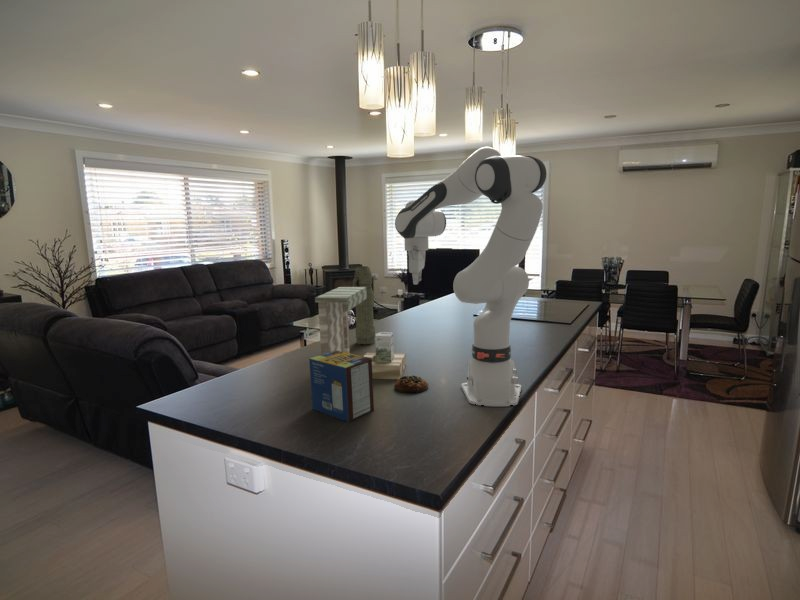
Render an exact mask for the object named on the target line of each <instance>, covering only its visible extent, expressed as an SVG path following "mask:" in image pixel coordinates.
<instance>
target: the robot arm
mask: <svg viewBox="0 0 800 600" xmlns="http://www.w3.org/2000/svg"><path fill="white" fill-rule="evenodd" d="M546 179H547V168H546V165H545V163H544V162H543V161H542V160H541V159H539V158H537V157H534V156H530V155H515V154H506V155H505V154H504V155H501V153H500V152H499V151H498V150H497V149H495V148H494V147H491V146H482V147H479V148H478V149H477V150H475V151H474V152H473V153H472V154H471V155H469V156H468V157H467V158H466V159H465V160H464V161H463V162H462V163H461V164H460V165H458V167H457V168H456V169H455V170H454V171H453V172H452V173H450V174H449V175H448V176H446V177H445V178H444V179H442V180H440V181H439V182H437V183H436V184H434V185H433V186H431V187H430V188H429V189H428V190H425V192H424V193H422V195H421V196H420V197H418V198H417V199H416V200H410V201H409V202H407V203H406V204H405V206H404V208H402V209H401V210H399V212H398V213H397V215H396V217H395V220H394V221H395V222H394V227H395V229H396V231H397V232H398V234H399V235H400V236H401V237H402V238H404V251H407V253H408V254H407V255H408V272H409V274H411V276H412V283H413V285H419V282H421V281H422V273H423V271H422V270H424V268H425V265H426V264H425V263H426V251H429V238H430V237H438V236H441V235H442V234H443V233H444V232H445V229H446V227H447V218H446V215H445V213H444V212H443V211H442V210H441V208H444V207H450V206H451V207H452V206H458V205H467V204H470V203H472V202H474V201H476V200H477V199H479V198H480V197H481V196H482V195H484V196H485V197H486V198H488V199H489V200H490V203H493V204H494V205H496V204H498V205H499V204H500V205H501V210H500V214H499V216H498V219H497V221H496V223H495V226H494V228H493V230H492V232H491V235H490V237H489V240H488V242H487V244H486V246H485V247H484V249H483V250H482V251H481V252H480V254H479V255H478V257H476V258H475V259H474V261H473V262H471V264H469V265H468V266H467V267H465V268H463V270H460V271H459V272H458V273H456V275H455V277H454V280H453V283H452V284H453V285H452V287H453V292H454V295H455V296H456V298H457V299H458V301H459V302H461V303H465V304H473V305H474V304H475V305H478V304H485V306H484V308H483V309H482V312H480V313H479V314H478V315H477V316H476V317H475V318H474V321H473V343H472V346H471V347H472V348H471V356H472V357H471V359H470V360H469V361H467V371H466V372H467V374H466V381H467V382H462V383H461V386H460V387H461V390H462V392H463V393H464V395H465V398H466V399H467V401H468V403H469V404H472V405H475V404H476V405H477V406H481V405H484V406H483V407H511V406H510V405H513V406H517V405H518V404H519V400H520V397H521V393H520V392H521V391H522V389H521V388H522V385H521V384H520V383H519V377H518V376H516V375H517V372H518V371H517V369H516V365H515V364H516V363H515V362H514V360H512V356H511V355H512V354H511V353H512V348H511V347H512V346H511V344H510V335H511V334H510V331H511V330H510V329H511V321H512V317H513V313H514V310H515V308H516V306H517V304H518V302H519V301H520V300H521V298H522V297H523V296H524V295H525V294H526V293H527V291H528V289H529V285H530V280H529V275H528V274H527V272H526V270H524V268H522V267H521V266H518V265H519V264H520V263H521V262H522V261H523V260H524V259H525V257H526V254H527V252H528V250H529V248H530V245H531V244H532V241H533V239H534V237H535V234H536V232H537V230H538V227H539V224H540V221H541V217H542V214H543V208H544V206H543V202H542V200H541V198H539V196H538V195H536V194H535V193H536V192H538V191H539V190H541V188H543V186H544V184H545V182H546ZM519 396H520V397H519Z"/></svg>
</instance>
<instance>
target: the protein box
mask: <svg viewBox="0 0 800 600" xmlns="http://www.w3.org/2000/svg"><path fill="white" fill-rule="evenodd" d="M308 361H309V373H310V375H309V376H310V392H311V408H312V410H313V409H314V411H316V410H317V411H316V412H319V411H320V412H319V413H322V414H324V413H325V414H324V415H327V414H328V416H330V415H331V417H333V418H335V417H336V419H338V418H339V420H341V419H342V421H344V420H345V422H348V423H349V422H351V421H353V420H356V419H358V418H361V417H362V416H364V415H366V414H368V413H371V412H372V411H374V410H375V404H374V384H373V383H374V382H373V377H372V358H369V357H364V355H358V354H353V353H351V352H350V353H345V352H340V351H336V350H335V351H332V352H329V353H325V354H322V355H321V354H320V355H319V354H318V355H316V356H311V357H309V360H308Z"/></svg>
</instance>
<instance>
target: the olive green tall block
mask: <svg viewBox="0 0 800 600" xmlns="http://www.w3.org/2000/svg"><path fill="white" fill-rule="evenodd" d="M354 271H355V272H354V277H353V280H352V287H367V299H365V300H364V301H362V302H361V303H359V304H358V305H356V306H355V307H354V308H355V321H356V323H355V324H356V327H355V329H354V330H355V339H356V340H355V341H356V344H357V345H358V344H371V345H373V344H372V343H374V342H375V335H376V327H375V325H374V324H375V322H374V321H375V320H374V305H375V301H374V300H375V286H374V285H375V283H374V282H375V281H374V280H375V279H374V277H373V275H372V271H371V267H369V266H365V265H364V266H362V265H361V266H357V267H355V270H354ZM374 344H375V343H374Z"/></svg>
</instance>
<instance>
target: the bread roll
mask: <svg viewBox="0 0 800 600" xmlns="http://www.w3.org/2000/svg"><path fill="white" fill-rule="evenodd" d="M396 380H397V381H396V382H394V386H393V388H394V390H396V391H397V392H399V393H402V394H409V395H412V394H417V393H418V394H419V393H421V392H424V391H425V390H427V389H428V388H429V385H430V384H429V383H428V382H427V380H425V378H422V377H421V376H416V375H407V376H406V375H404V376H401V378H400V379H396Z"/></svg>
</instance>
